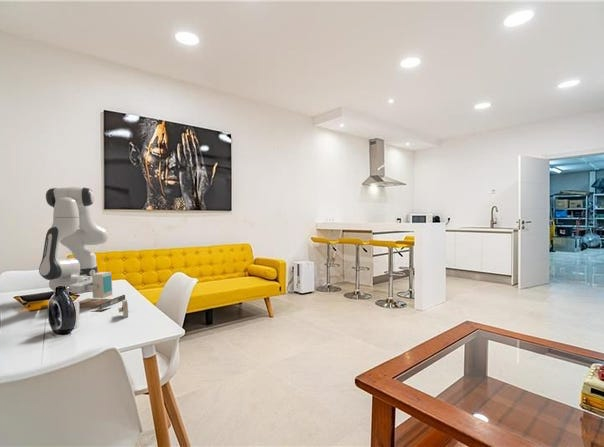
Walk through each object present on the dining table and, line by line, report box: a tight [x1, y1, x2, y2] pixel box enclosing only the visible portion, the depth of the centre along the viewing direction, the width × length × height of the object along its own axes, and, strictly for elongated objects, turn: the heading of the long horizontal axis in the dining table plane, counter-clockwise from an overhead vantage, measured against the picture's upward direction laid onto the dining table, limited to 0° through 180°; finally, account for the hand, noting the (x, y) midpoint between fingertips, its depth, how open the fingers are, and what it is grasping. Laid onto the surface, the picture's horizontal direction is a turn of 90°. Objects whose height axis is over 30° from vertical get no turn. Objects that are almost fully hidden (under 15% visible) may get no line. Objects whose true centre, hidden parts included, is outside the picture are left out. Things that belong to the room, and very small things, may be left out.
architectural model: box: [118, 299, 129, 319], centre depth 146 cm, size 3×7×7 cm, turn 34°
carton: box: [92, 271, 113, 299], centre depth 161 cm, size 6×6×12 cm
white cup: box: [72, 301, 80, 330], centre depth 133 cm, size 8×8×10 cm
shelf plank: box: [78, 294, 126, 313], centre depth 163 cm, size 23×16×4 cm
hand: (103, 284), depth 161 cm, fingers closed on carton, 6 cm apart
